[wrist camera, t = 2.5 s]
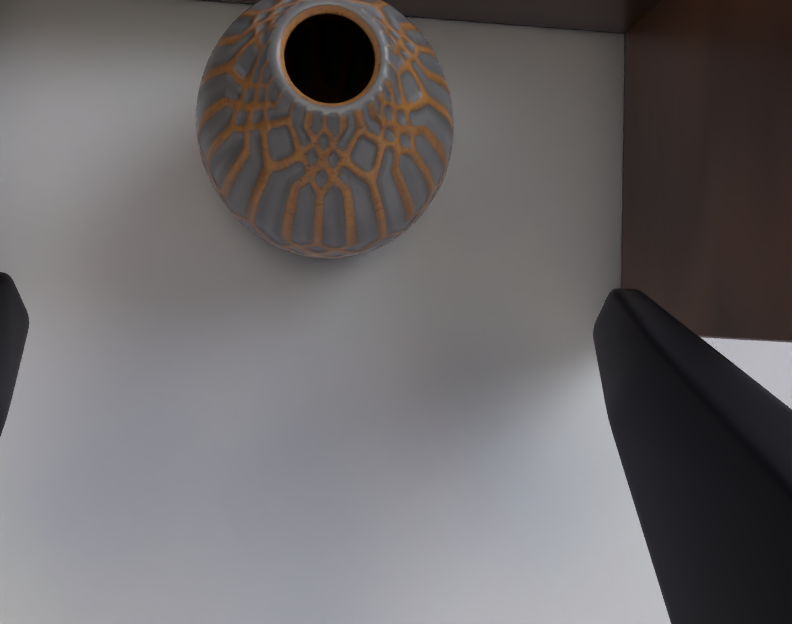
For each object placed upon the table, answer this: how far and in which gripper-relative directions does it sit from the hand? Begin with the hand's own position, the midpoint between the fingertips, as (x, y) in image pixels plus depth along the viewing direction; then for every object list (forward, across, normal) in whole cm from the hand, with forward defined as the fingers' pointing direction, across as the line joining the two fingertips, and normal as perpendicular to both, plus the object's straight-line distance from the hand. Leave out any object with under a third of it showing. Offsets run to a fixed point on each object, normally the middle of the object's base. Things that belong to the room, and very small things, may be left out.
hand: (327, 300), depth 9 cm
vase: (+12, 0, +5) cm, 13 cm away
